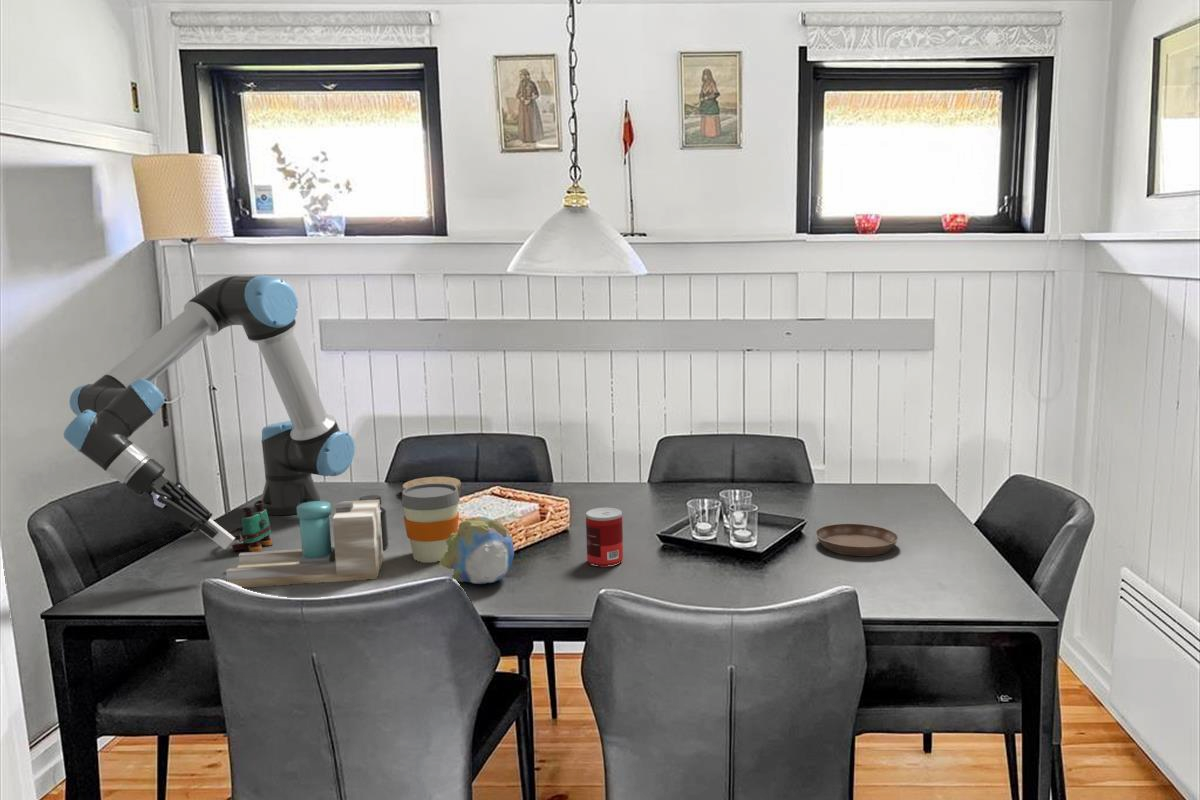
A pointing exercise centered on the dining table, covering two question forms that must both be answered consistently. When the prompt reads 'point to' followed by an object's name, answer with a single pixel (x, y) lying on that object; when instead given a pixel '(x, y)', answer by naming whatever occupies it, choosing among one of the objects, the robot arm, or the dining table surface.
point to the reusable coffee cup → (430, 519)
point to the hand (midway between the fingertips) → (229, 543)
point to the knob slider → (315, 532)
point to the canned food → (604, 536)
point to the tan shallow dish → (434, 480)
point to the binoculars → (253, 529)
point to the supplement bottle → (383, 519)
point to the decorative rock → (479, 551)
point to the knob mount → (352, 562)
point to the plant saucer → (856, 539)
